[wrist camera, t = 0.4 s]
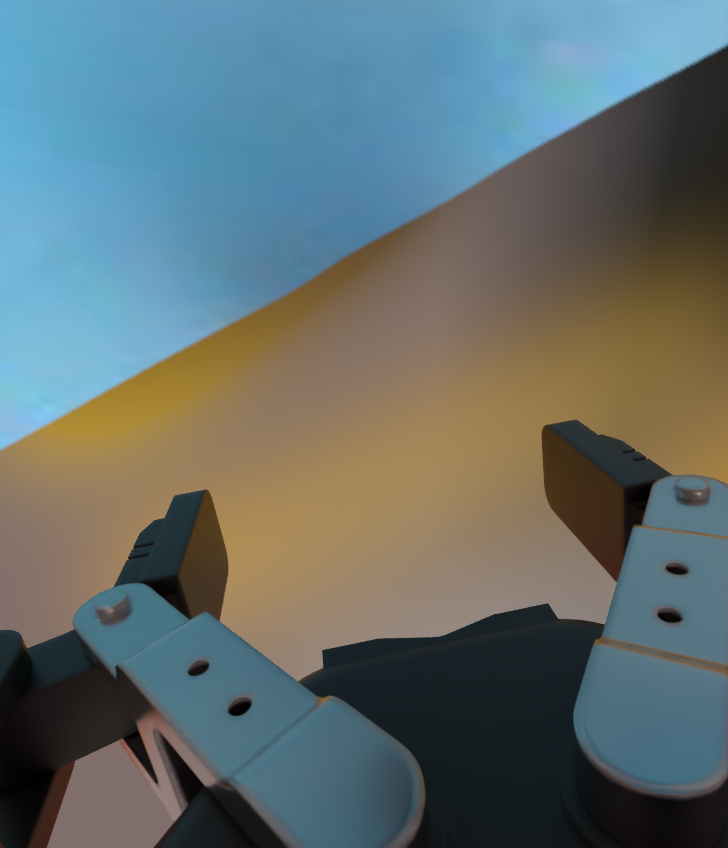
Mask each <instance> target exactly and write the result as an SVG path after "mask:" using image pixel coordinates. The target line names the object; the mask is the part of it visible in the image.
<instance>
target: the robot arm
mask: <svg viewBox="0 0 728 848" xmlns="http://www.w3.org/2000/svg"><path fill="white" fill-rule="evenodd" d="M542 452H543V470H544V486H545V493H546V496H547V500H548V502H549V505H550V507H551V508H552V510H553V511H554V512H555V513H556V515H557V516H558V517H559V518H560V519H561V520H562V521H563V522H564V524H565V525H566V526H567V527H568V528H569V529H570V530H571V531H572V533H573V534H574V535H575V536H576V537H577V538H578V539H579V540H580V542H581V543H582V544H583V545H584V546H585V547H586V548H587V549H588V551H589V552H590V553H591V554H592V555H593V556H594V557H595V558H596V560H597V561H598V562H599V563H600V564H601V565H602V566H603V567H604V568H605V570H606V571H607V572H608V573H609V574H610V575H611V576H612V578H613V579H614V580H615V581H616V582H617V585H616V588H615V591H614V595H613V598H612V602H611V605H610V609H609V612H608V616H607V619H606V623H605V625H604V624H600V623H595V622H590V621H584V620H574V619H558V618H557V616H556V615H555V613H554V612H553V610H552V609H551V607H550V606H549V604H548V603H547V604H543V605H538V606H533V607H528V608H523V609H518V610H514V611H509V612H504V613H499V614H494V615H492V616H490V617H487V618H484V619H482V620H480V621H477V622H475V623H473V624H470V625H468V626H466V627H463V628H461V629H458V630H456V631H454V632H451V633H449V634H446V635H444V636H440V637H426V638H385V639H374V640H370V641H365V642H360V643H356V644H350V645H346V646H341V647H336V648H331V649H326V650H323V651H322V652H323V668H322V669H320V670H318V671H315V672H313V673H312V674H310V675H308V676H306V677H304V678H302V679H301V680H299V681H296V680H295V679H294V678H293V677H291V676H290V675H288V674H287V673H286V672H285V671H283V670H282V669H281V668H280V667H278V666H277V665H276V664H274V663H273V662H272V661H270V660H269V659H268V658H267V657H265V656H264V655H263V654H261V653H260V652H259V651H257V650H256V649H255V648H253V647H252V646H251V645H250V644H248V643H247V642H246V641H244V640H243V639H242V638H241V637H239V636H238V635H237V634H235V633H234V632H232V631H231V630H230V629H229V628H228V627H226V626H225V625H223V624H222V623H221V622H220V616H221V610H222V605H223V599H224V593H225V588H226V582H227V577H228V558H227V552H226V548H225V544H224V540H223V537H222V533H221V529H220V526H219V522H218V518H217V515H216V512H215V508H214V504H213V501H212V497H211V495H210V493H209V491H208V490H201V491H196V492H191V493H185V494H180V495H175V496H174V498H173V500H172V502H171V505H170V507H169V509H168V512H167V514H166V516H165V518H164V519H158V520H154V521H153V522H152V523H151V524H150V525H149V526H148V527H147V528H146V529H144V530H143V531H142V532H141V533H140V534H139V536H138V539H137V540H136V542H135V545H134V549H132V551H131V553H130V555H129V557H128V559H129V560H127V561H126V563H125V565H124V567H123V569H122V571H121V573H120V575H119V577H118V579H117V581H116V584H115V586H114V587H113V588H110V589H107V590H105V591H103V592H101V593H99V594H97V595H96V596H94V597H92V598H91V599H89V600H88V601H87V602H86V603H84V604H83V605H82V606H81V607H80V609H78V611H77V612H76V613H75V615H74V617H73V622H72V623H73V627H74V630H72V631H70V632H68V633H65V634H63V635H61V636H58V637H56V638H53V639H50V640H48V641H45V642H43V643H40V644H37V645H35V646H32V647H30V648H26V645H25V643H24V641H23V639H22V636H21V635H20V634H19V633H18V632H16V631H13V630H0V848H47V845H48V842H49V839H50V836H51V833H52V830H53V827H54V824H55V821H56V818H57V815H58V812H59V809H60V806H61V803H62V800H63V797H64V794H65V791H66V789H67V785H68V783H69V779H70V777H71V774H72V771H73V767H74V763H75V760H77V759H80V758H81V757H84V756H86V755H88V754H90V753H92V752H94V751H97V750H99V749H101V748H103V747H105V746H107V745H109V744H112V743H114V742H116V741H118V740H119V741H120V743H121V746H122V747H123V749H124V750H125V752H126V753H127V754H128V756H129V757H130V759H131V760H132V761H133V763H134V764H135V765H136V767H137V768H138V770H139V771H140V772H141V774H142V775H143V777H144V778H145V779H146V781H147V782H148V783H149V785H150V786H151V788H152V789H153V791H154V792H155V793H156V795H157V796H158V798H159V799H160V800H161V802H162V803H163V805H164V806H165V808H166V809H167V811H168V813H169V814H170V816H171V818H172V820H173V822H174V823H173V824H172V826H171V827H170V828H169V829H168V831H167V832H166V833H165V834H164V836H163V837H162V838H161V839H160V840H159V842H158V843H157V844H156V845H155V847H154V848H728V485H727V484H726V483H724V482H722V481H720V480H717V479H714V478H710V477H706V476H700V475H671V474H670V473H669V472H667V471H666V470H664V469H663V468H661V467H660V466H658V465H657V464H656V463H654V462H653V461H651V460H650V459H646V457H645V456H644V455H642V454H641V453H639V452H635V449H633V448H632V447H630V446H629V445H627V444H626V443H624V442H623V441H621V440H618V439H615V438H612V437H608V436H605V435H597V434H596V433H595V432H593V431H592V430H590V429H589V428H588V427H586V426H585V425H583V424H582V423H580V422H579V421H578V420H571V421H566V422H560V423H555V424H550V425H545V426H544V427H543V430H542Z"/></svg>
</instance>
